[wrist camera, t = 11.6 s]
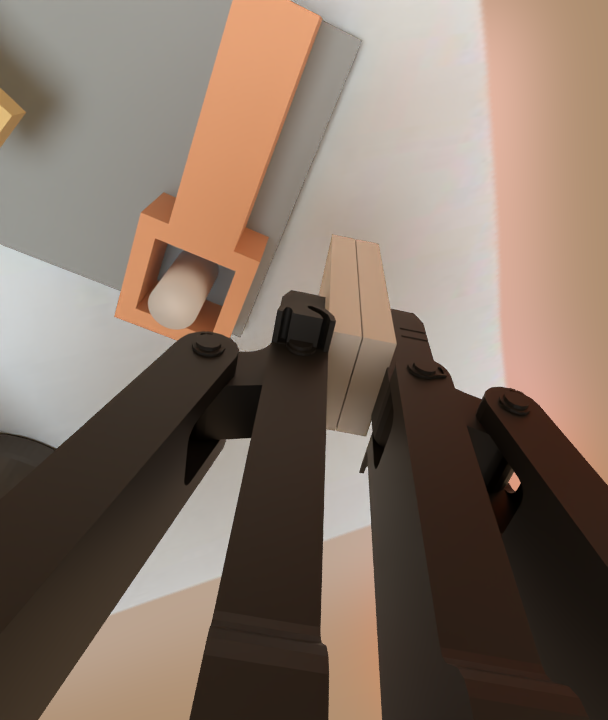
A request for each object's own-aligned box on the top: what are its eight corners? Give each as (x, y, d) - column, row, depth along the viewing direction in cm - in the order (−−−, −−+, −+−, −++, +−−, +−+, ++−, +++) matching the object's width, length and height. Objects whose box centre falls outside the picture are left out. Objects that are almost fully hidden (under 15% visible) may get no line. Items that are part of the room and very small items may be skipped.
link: (233, 325, 34) (221, 357, 30) (137, 287, 33) (114, 316, 29) (350, 32, 25) (352, 32, 22) (224, -32, 24) (205, -43, 21)
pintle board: (243, 328, 35) (222, 389, 29) (-96, 196, 32) (-199, 234, 26) (361, 40, 26) (367, 41, 20) (-94, -189, 23) (-253, -272, 17)
